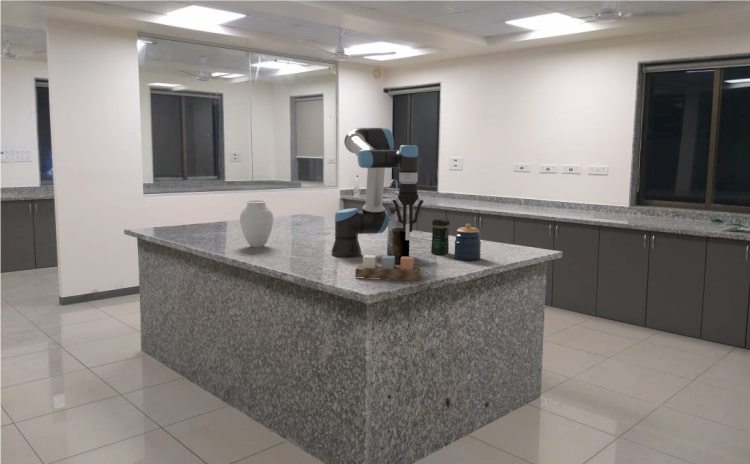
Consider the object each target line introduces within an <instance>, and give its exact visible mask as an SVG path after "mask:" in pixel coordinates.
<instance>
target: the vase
mask: <svg viewBox="0 0 750 464" xmlns="http://www.w3.org/2000/svg"><path fill="white" fill-rule="evenodd" d="M266 203H267V201H265V200H248V201H246V204H247V205H246V206H245V207H244V208H243V209H242V211H241V213H240V216H239V224H240V226H241V230H242V231H241V232H242V234H243V236H244V238H245V241H246V242H247V244H248V245H249V247H251V246H252V247H261V246H264V247H265V245H266V244H267V242H268V240H269V238H270V235H271V233H272V229H273V226H274V225H273V224H274V216H273V212H272V210H271V209H270V208H269V207H268V206H267V205H266ZM252 247H251V248H252ZM261 248H262V247H261Z"/></svg>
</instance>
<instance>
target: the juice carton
mask: <svg viewBox="0 0 750 464" xmlns="http://www.w3.org/2000/svg"><path fill="white" fill-rule="evenodd" d="M398 204H399V209H400V213H401V217H402V220H403V204H402V203H400V202H399V203H398ZM387 206H388V207H387V208H388V209H387V210H388V224H387V244H386V245H387V246H386V247H387V248H386V253H387V255H386V256H392V237H393V234H392V233H393V232H392V229H393V228H403V224H402V223H400V222H399V221H398V216H397V212H396V207H395V205H394V204H388V205H387ZM406 222H407V223H406V224H409V205H407V220H406Z"/></svg>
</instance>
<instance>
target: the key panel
mask: <svg viewBox="0 0 750 464" xmlns="http://www.w3.org/2000/svg"><path fill="white" fill-rule="evenodd" d="M400 266H401V265H395V269H381V267H382V264H378V263H376V268H363V263H359V265H358V266H356V267H355V277H364V278H380V279H379V280H384V279H393V280H392V281H407V280H410V281H411V282H412V281H413V282H418V280H419V278H420V276H421V266H420V265H414V270H402V269H400ZM410 281H409V282H410Z"/></svg>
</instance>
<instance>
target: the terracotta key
mask: <svg viewBox="0 0 750 464" xmlns="http://www.w3.org/2000/svg"><path fill="white" fill-rule="evenodd" d="M414 258H415V257H414V256H409V257H404V256H402V257H401V266H400V269H402V270H414V266H415V265H414V264H415V263H414V262H415V260H414Z"/></svg>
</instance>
